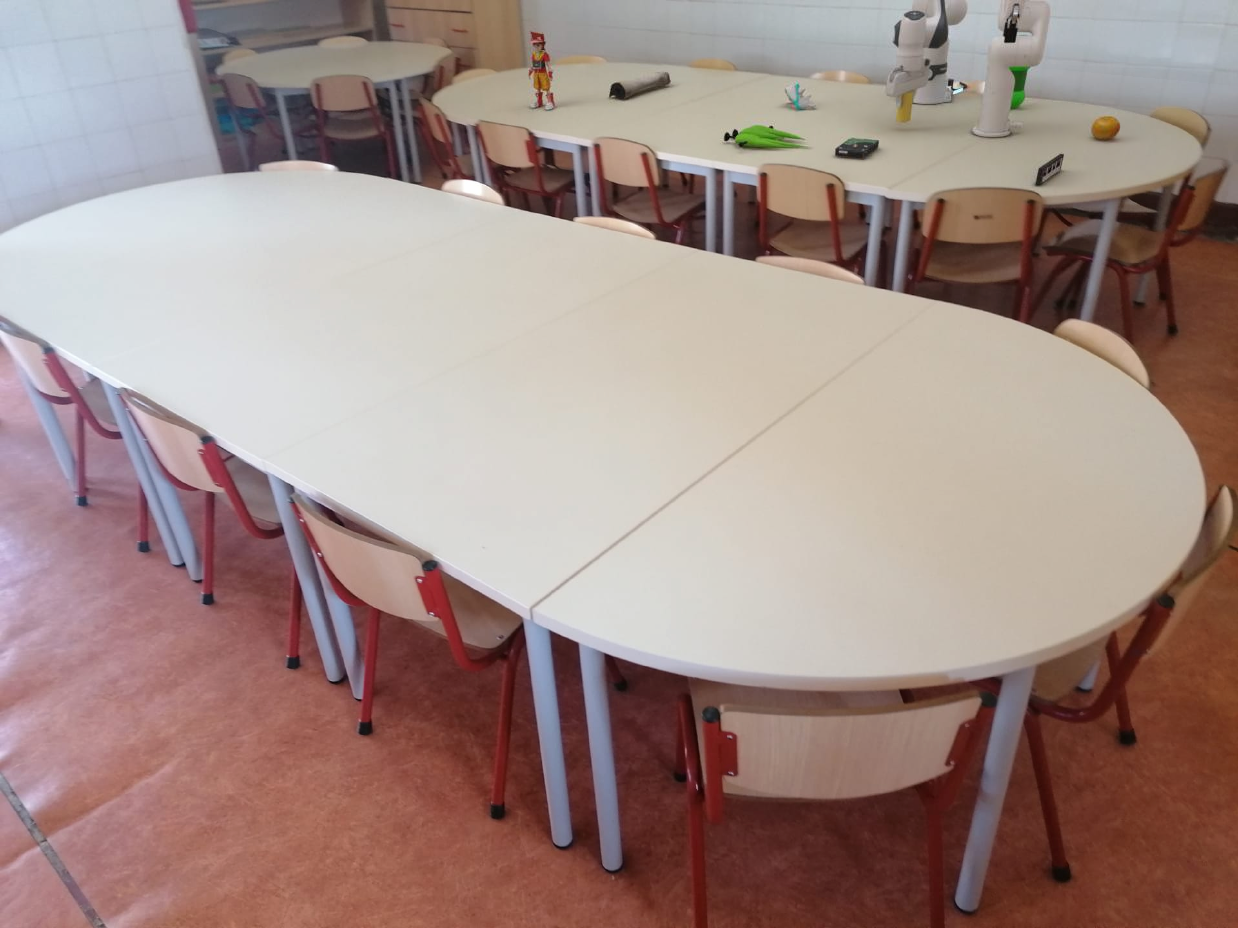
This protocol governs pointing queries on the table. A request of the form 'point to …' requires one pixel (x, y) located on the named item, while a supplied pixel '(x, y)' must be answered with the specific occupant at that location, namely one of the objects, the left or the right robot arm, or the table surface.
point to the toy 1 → (541, 71)
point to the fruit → (1105, 127)
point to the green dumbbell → (1018, 85)
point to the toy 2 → (761, 137)
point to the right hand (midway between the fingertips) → (1008, 39)
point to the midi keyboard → (1049, 169)
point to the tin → (905, 107)
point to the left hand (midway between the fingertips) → (904, 105)
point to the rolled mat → (638, 84)
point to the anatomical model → (798, 96)
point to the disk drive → (856, 148)
